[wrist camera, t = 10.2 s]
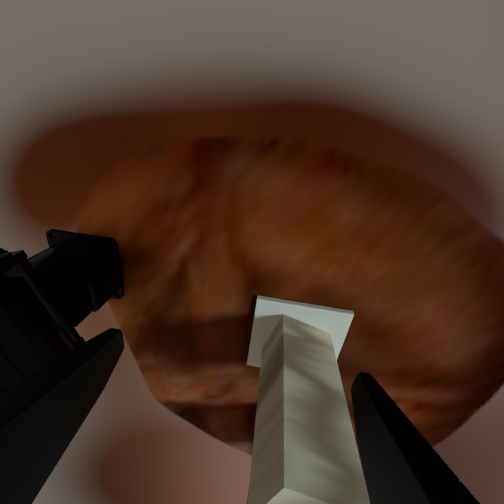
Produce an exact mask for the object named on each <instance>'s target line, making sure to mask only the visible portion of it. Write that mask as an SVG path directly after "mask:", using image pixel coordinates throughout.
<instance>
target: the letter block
mask: <svg viewBox="0 0 504 504" xmlns="http://www.w3.org/2000/svg"><path fill="white" fill-rule="evenodd" d="M250 474H251V475H250V484H249V495H248V504H370V502H369V498H368V494H367V489H366V485H365V481H364V476H363V472H362V468H361V463H360V459H359V455H358V450H357V446H356V442H355V437H354V433H353V429H352V425H351V420H350V416H349V412H348V407H347V403H346V399H345V394H344V390H343V386H342V381H341V377H340V373H339V369H338V364H337V360H336V356H335V351H334V347H333V343H332V338H331V334H330V333H328V332H326V331H323V330H321V329H318V328H316V327H314V326H311V325H309V324H306V323H304V322H301V321H299V320H297V319H294V318H292V317H289V316H287V315H284V314H283V316H282V317H281V319H280V320H279V322H278V324H277V325H276V327H275V328H274V330H273V332H272V333H271V335H270V336H269V338H268V339H267V341H266V343H265V344H264V346H263V347H262V355H261V366H260V377H259V388H258V398H257V409H256V420H255V431H254V441H253V452H252V464H251V473H250Z"/></svg>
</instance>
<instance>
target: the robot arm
mask: <svg viewBox="0 0 504 504" xmlns="http://www.w3.org/2000/svg"><path fill="white" fill-rule="evenodd" d="M53 235H54V236H53ZM46 237H47V240H48V244H49V248H48V249H46V250H44V251H42V252H40V253H38V254H36V255H34V256H32V257H30V258H28V259H27V257H28V256H27V255H26V253H25V252H24V250H21V251H15V252H8V251H5V250H4V249H2V248H0V504H32V503H33V501H34V499H35V498H36V496H37V495H38V493H39V491H40V490H41V488H42V487H43V485H44V484H45V482H46V480H47V479H48V477H49V476H50V474H51V472H52V471H53V469H54V468H55V466H56V465H57V463H58V461H59V460H60V458H61V456H62V455H63V453H64V452H65V450H66V449H67V447H68V445H69V444H70V442H71V441H72V439H73V438H74V436H75V434H76V433H77V431H78V430H79V428H80V426H81V425H82V423H83V422H84V420H85V418H86V417H87V415H88V414H89V412H90V411H91V409H92V407H93V406H94V404H95V403H96V401H97V399H98V398H99V396H100V394H101V393H102V391H103V390H104V387H105V386H106V384H107V382H108V380H109V378H110V376H111V374H112V372H113V370H114V368H115V366H116V364H117V362H118V360H119V358H120V356H121V354H122V352H123V350H124V339H123V333H122V331H121V330H120V329H114V328H110V329H108V330H106V331H104V332H103V333H101V334H99V335H97V336H95V337H94V338H92V339H90V340H88V341H86V342H85V340H84V339H83V337H80V335H79V334H78V333H77V331H76V329H75V328H74V327H76V326H77V325H78V324H80V322H82V321H83V320H84V319H85V318H86V317H87V316H88V315H89V314H90V313H91V312H92V311H93V312H96V311H97V310H99V309H100V308H101V307H102V306H103V305H104V304H105V303H106V302H107V301H108V300H109V299H110V298H115V299H121V298H122V297H123V296H124V287H123V285H124V282H123V274H122V267H121V263H120V257H119V249H118V243H117V241H116V240H114V239H112V238H106V237H100V236H93V235H87V234H81V233H74V232H68V231H62V230H55V229H51V230H49V231H47V232H46ZM110 243H111V244H112V245H113V246H112V245H111V244H110ZM351 397H352V406H353V415H354V423H355V432H356V439H357V444H358V449H359V453H360V458H361V463H362V467H363V472H364V476H365V481H366V486H367V490H368V495H369V500H370V504H480V503H479V502H478V501H477V500H476V499H475V498H474V496H473V495H472V494H471V493H470V491H469V490H468V489H467V488H466V487H465V486H464V484H463V483H462V482H460V481H459V478H458V477H457V476H456V475H455V474H454V473H453V471H452V470H451V469H450V468H449V467H448V465H447V464H446V463H445V462H444V461H443V459H442V458H441V457H440V456H439V455H438V454H437V452H436V451H435V450H434V449H433V448H432V446H431V445H430V444H429V443H428V442H427V440H426V439H425V438H424V437H423V436H422V434H421V433H420V432H419V431H418V430H417V429H416V427H415V426H414V425H413V424H412V423H411V421H410V420H409V419H408V418H407V417H406V415H405V414H404V413H403V412H402V411H401V409H400V408H399V407H398V406H397V405H396V404H395V402H394V401H393V400H392V399H391V398H390V396H389V395H388V394H387V393H386V392H385V390H384V389H383V388H382V387H381V386H380V385H379V383H378V382H377V381H376V380H375V379H374V377H373V376H372V375H371V374H369V373H364V372H358V373H357V375H356V377H355V379H354V381H353V384H352V386H351Z"/></svg>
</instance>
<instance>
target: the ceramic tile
mask: <svg viewBox="0 0 504 504" xmlns="http://www.w3.org/2000/svg"><path fill="white" fill-rule="evenodd" d="M283 314H284V315H287V316H289V317H292V318H294V319H297V320H299V321H301V322H304V323H306V324H309V325H311V326H314V327H316V328H318V329H321V330H323V331H326V332H328V333H330V334H331V338H332V343H333V347H334V351H335V356H336V360H337V358H338V355H339V353H340V350H341V347H342V345H343V342H344V340H345V337H346V334H347V332H348V329H349V327H350V324H351V321H352V319H353V316H354V313H353V311H350V310H344V309H337V308H331V307H325V306H319V305H313V304H307V303H301V302H295V301H288V300H282V299H276V298H270V297H264V296H257V302H256V309H255V315H254V321H253V328H252V334H251V340H250V347H249V353H248V359H247V365H250V366H256V367H260V366H261V355H262V347H263V346H264V344H265V343H266V341H267V339H268V338H269V336H270V335H271V333H272V332H273V330H274V328H275V327H276V325H277V324H278V322H279V320H280V319H281V317H282V316H283Z"/></svg>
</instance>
